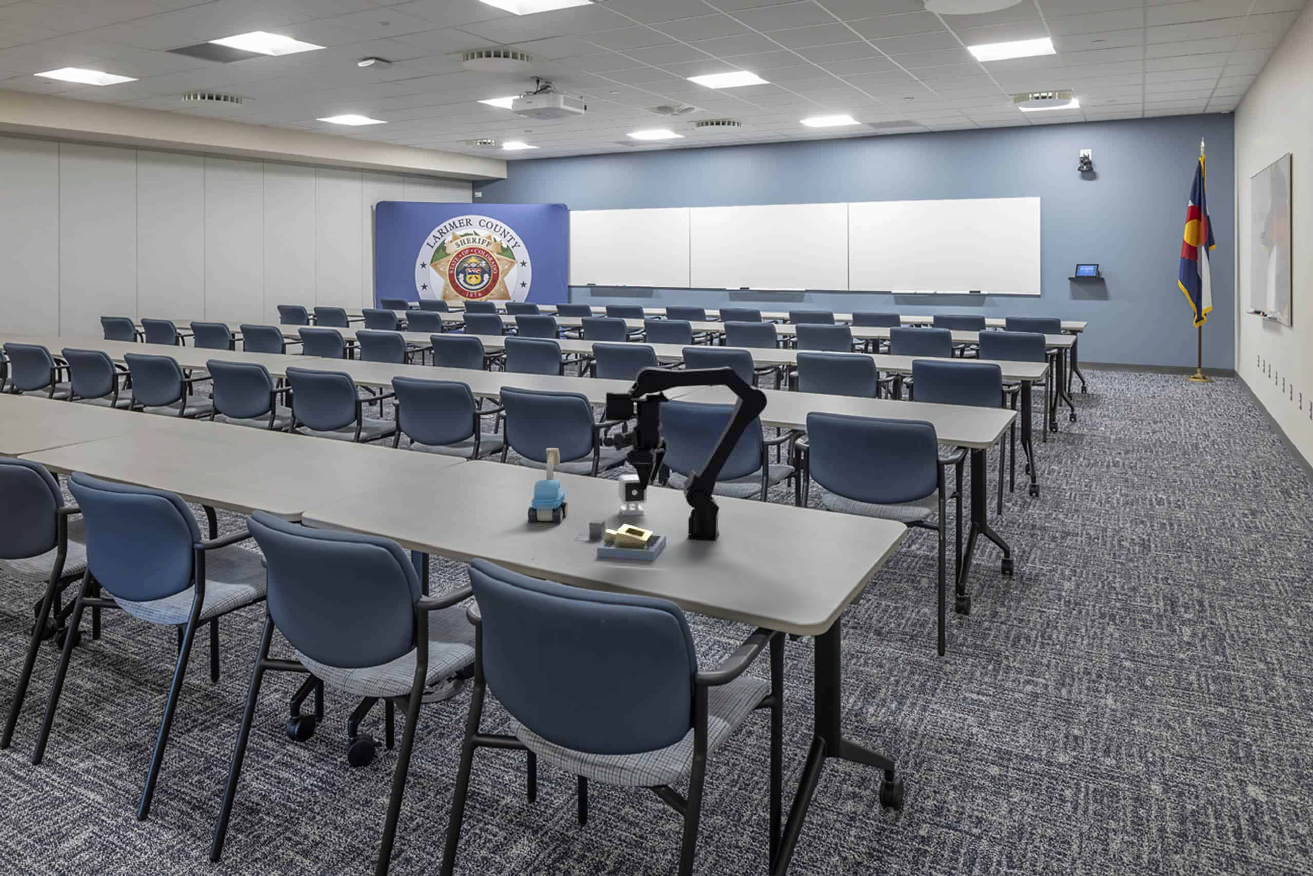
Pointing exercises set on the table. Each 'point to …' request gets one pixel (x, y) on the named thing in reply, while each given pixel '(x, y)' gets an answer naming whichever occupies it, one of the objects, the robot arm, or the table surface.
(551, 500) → the toy excavator
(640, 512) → the security camera
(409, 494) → the table surface
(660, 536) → the tray
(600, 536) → the grey peg base
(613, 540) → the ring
